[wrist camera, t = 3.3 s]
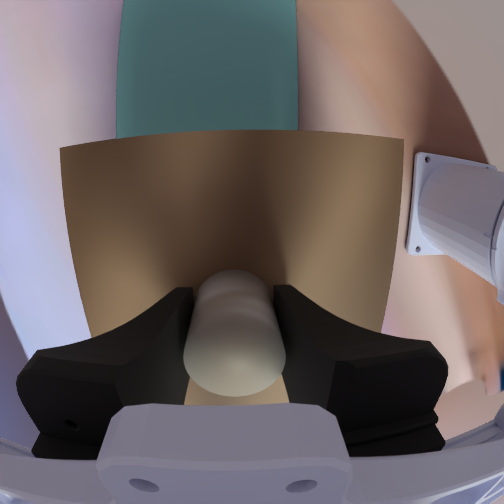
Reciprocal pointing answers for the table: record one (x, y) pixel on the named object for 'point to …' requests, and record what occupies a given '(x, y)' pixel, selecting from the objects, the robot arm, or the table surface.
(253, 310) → the cover
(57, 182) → the table surface
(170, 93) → the mat
